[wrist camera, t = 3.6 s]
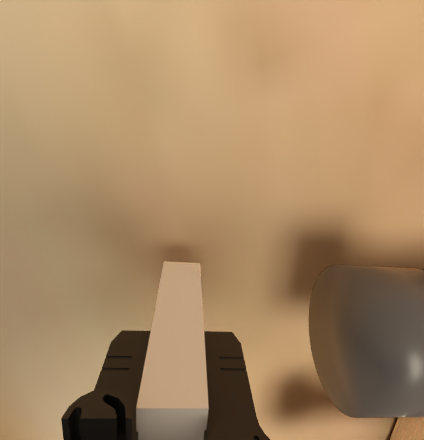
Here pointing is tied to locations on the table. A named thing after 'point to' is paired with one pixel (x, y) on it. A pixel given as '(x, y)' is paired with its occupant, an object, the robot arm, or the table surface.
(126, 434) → the robot arm
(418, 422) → the panel
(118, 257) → the table surface
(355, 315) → the knob
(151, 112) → the table surface
